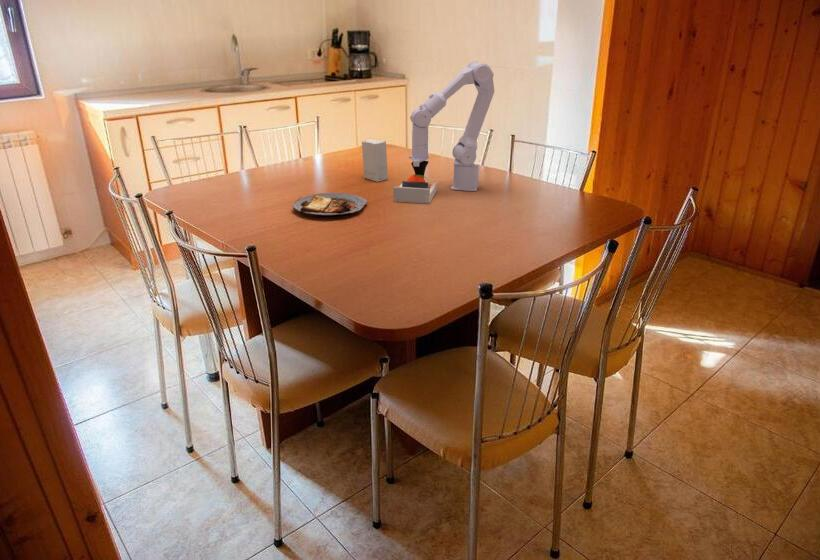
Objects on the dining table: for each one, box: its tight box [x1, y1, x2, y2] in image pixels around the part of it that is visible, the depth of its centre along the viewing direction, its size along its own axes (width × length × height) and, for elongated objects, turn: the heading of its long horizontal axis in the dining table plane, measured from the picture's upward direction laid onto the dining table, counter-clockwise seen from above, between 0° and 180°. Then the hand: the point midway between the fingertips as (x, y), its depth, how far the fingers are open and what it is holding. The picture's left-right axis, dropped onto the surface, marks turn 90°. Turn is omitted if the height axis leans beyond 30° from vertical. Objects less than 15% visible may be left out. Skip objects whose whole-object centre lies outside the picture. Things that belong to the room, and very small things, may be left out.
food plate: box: [291, 192, 368, 217], centre depth 195 cm, size 25×23×4 cm
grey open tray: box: [393, 182, 438, 205], centre depth 208 cm, size 12×16×5 cm
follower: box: [401, 180, 430, 189], centre depth 207 cm, size 9×1×5 cm, turn 78°
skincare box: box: [361, 138, 389, 182], centre depth 227 cm, size 8×6×15 cm
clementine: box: [406, 174, 429, 182], centre depth 210 cm, size 8×7×7 cm
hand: (419, 181), depth 214 cm, fingers closed
